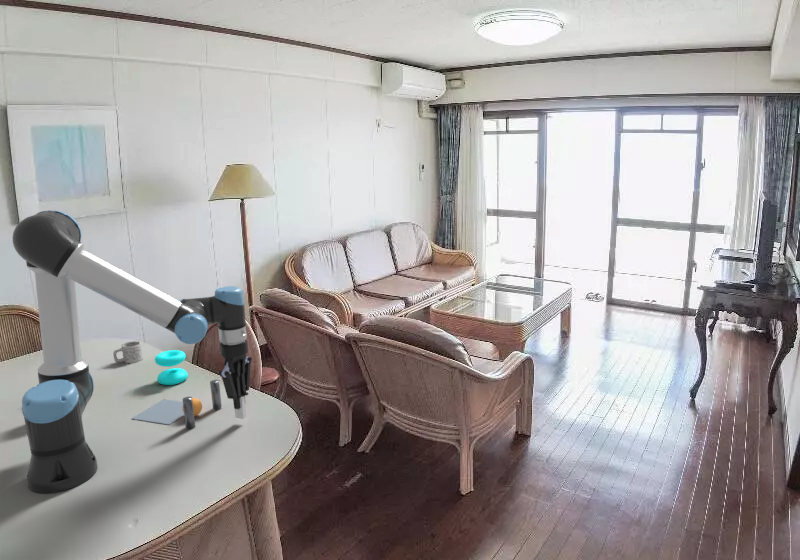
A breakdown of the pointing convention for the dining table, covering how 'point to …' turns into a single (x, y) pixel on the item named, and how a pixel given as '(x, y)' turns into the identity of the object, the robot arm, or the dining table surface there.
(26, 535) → the dining table surface
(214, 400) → the far post
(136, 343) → the mug
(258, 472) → the dining table surface
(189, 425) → the near post
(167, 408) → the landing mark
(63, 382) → the robot arm
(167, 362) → the donuts
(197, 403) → the ball
